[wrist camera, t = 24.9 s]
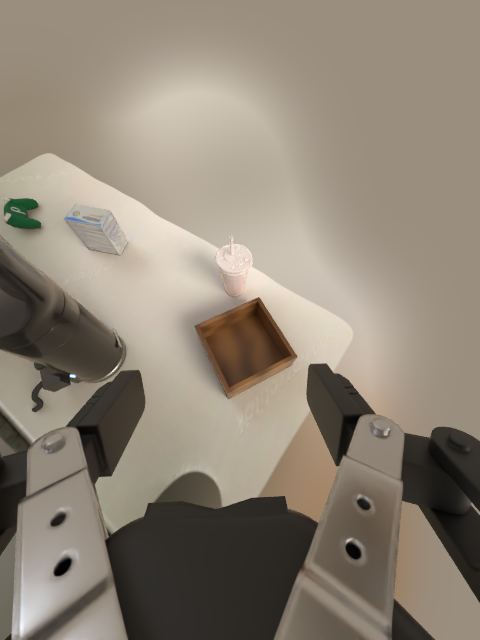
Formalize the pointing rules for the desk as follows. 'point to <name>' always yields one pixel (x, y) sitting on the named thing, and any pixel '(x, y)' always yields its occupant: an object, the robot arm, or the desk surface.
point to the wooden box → (245, 346)
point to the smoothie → (234, 266)
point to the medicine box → (97, 229)
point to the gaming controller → (20, 213)
